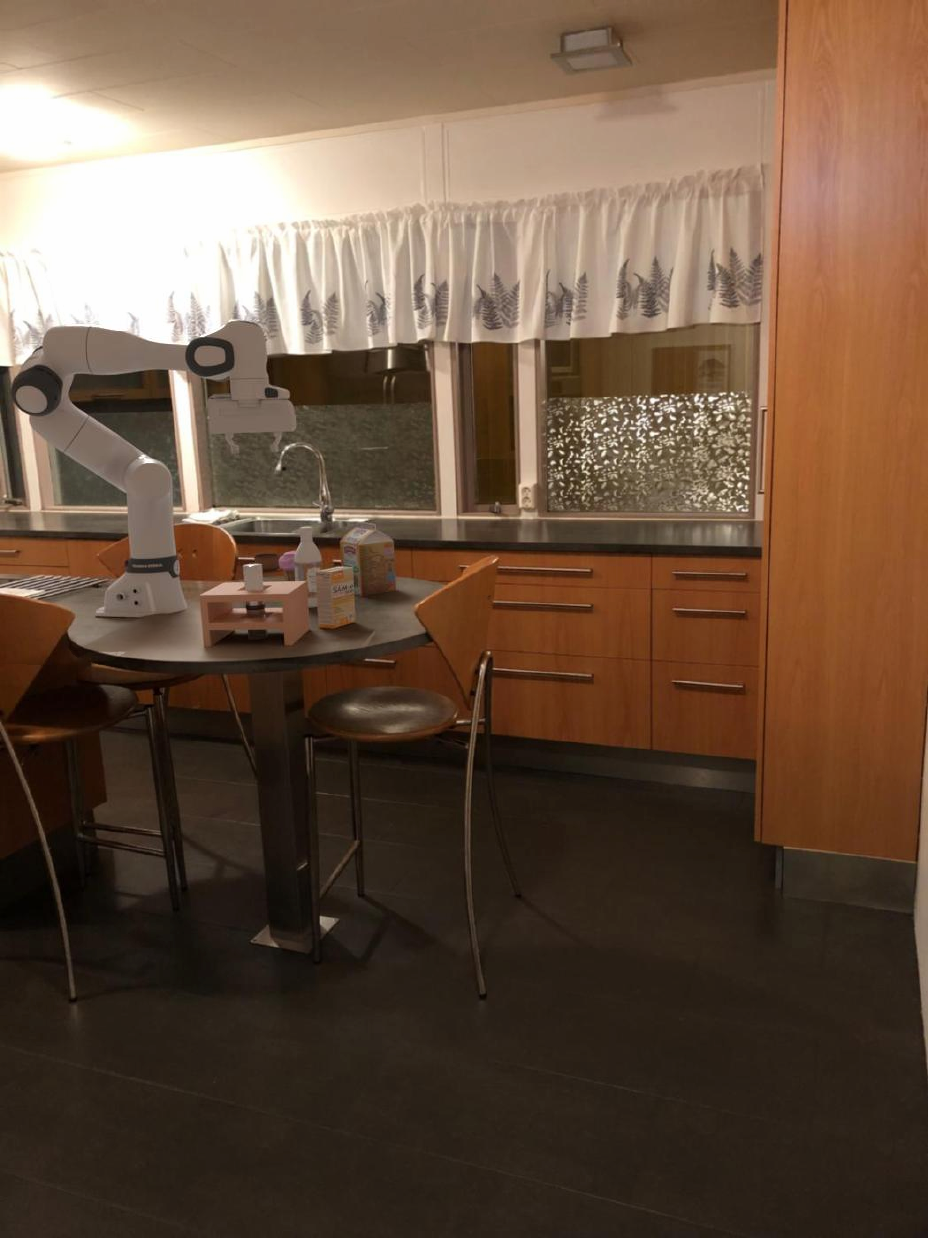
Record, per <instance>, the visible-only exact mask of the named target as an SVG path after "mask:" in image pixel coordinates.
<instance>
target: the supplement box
mask: <svg viewBox="0 0 928 1238" xmlns="http://www.w3.org/2000/svg"><path fill="white" fill-rule="evenodd" d="M315 574H316V591H317V607H316V609H317V622H318V623H317V624H318V626H317V627H319V628H323V629H337V628H341V627H343V626H346V625H350V624H353V623H356V604H355V603H356V602H355V601H356V600H355V594H354V579H353V567H341V566H335V567H330V568H325V569H323V570H320V571H315Z"/></svg>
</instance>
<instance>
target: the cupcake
mask: <svg viewBox="0 0 928 1238" xmlns="http://www.w3.org/2000/svg"><path fill="white" fill-rule="evenodd" d="M295 552H296V550H291V551H287V552H286V551H285V552H284V553H283V555H281V556H279V557H280V559H279V566H280V567H279V568H281V570H283V571H282V572H283V577H284V581H295V568H294V556H295Z"/></svg>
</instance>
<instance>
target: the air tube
mask: <svg viewBox="0 0 928 1238" xmlns="http://www.w3.org/2000/svg"><path fill="white" fill-rule="evenodd" d="M242 571H243V572H242V573H243V582H244V586H245V590H264V587H263V582H264V577H263V574H262V564H255V563H248V564H244V565H242ZM245 608H246V611H247V618H266V614H265V608H266V601H256V602H245ZM267 631H268V629H262V630H247V632H248V633H247V634H248V637H247V638H248V640H255V641H256V640H263V639H267V638H268V632H267Z"/></svg>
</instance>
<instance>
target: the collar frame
mask: <svg viewBox="0 0 928 1238" xmlns="http://www.w3.org/2000/svg"><path fill="white" fill-rule="evenodd" d="M263 587H264V590H245V586H244V581H237V582H236V581H234V582H233V581H232V582H222V583H220V584H218V585H216V586H215V587H213V588H211V589H209V590H207V591H205V592H203V593H201V594H200V595H198V596H199V605H200V618H201V627H202V628H201V630H202V639H203V642H202V643H203V647H212V646H213V645H215V644H216V643H218V642H219V641H221V640H222V639H223V638H226V637H227V636H228V635H229V634H231V633H232V632H233V631H242V630H245V631H248V630H262V629H267V630H283V637H284V639H283V640H284V646H293V645H294V644H295V643H296V642H297V641H299V639H301V638H302V637H303V636H304V635H305V634H306V633H307V632H308V631H309V630H310V629H311V625H310V623H311V622H310V610H309V609H310V608H309V607H308V592H307V581H285V580H284V581H263ZM256 601H265V602H281V607H265V614H266V618H247V611H246V607H245V608H244V607H243V608H241V607H240V608H238V607H237V608H233V603H239V602H242V603H243V602H245V603H246V602H256Z"/></svg>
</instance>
